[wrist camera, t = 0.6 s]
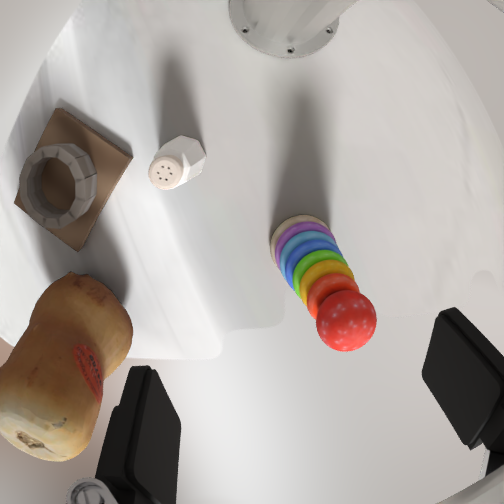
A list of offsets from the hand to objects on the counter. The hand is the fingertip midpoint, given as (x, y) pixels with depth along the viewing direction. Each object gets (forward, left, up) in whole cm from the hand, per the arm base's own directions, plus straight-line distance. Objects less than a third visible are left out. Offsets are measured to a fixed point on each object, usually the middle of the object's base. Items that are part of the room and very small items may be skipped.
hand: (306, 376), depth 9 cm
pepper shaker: (-4, -7, -29) cm, 30 cm away
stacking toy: (+8, +6, -29) cm, 31 cm away
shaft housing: (-4, -22, -29) cm, 37 cm away
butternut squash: (+13, -23, -29) cm, 39 cm away
